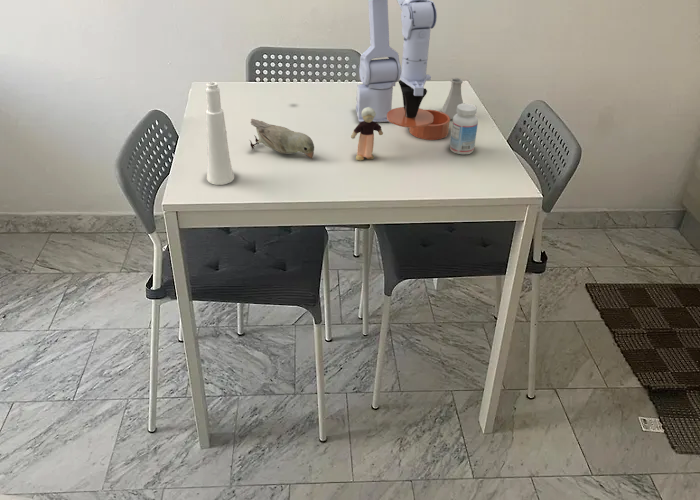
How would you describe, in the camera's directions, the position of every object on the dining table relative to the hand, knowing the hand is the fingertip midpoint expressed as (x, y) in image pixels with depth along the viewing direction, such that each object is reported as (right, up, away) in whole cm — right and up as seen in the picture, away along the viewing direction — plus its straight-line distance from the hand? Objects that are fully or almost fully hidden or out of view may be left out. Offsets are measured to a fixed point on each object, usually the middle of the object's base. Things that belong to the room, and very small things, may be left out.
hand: (410, 113), depth 158 cm
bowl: (+6, -2, +15) cm, 16 cm away
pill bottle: (+13, -8, +6) cm, 17 cm away
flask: (+14, +4, +24) cm, 28 cm away
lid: (0, -1, +1) cm, 1 cm away
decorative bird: (-31, -9, +2) cm, 32 cm away
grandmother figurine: (-10, -10, +1) cm, 15 cm away
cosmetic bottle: (-43, -17, -9) cm, 47 cm away
